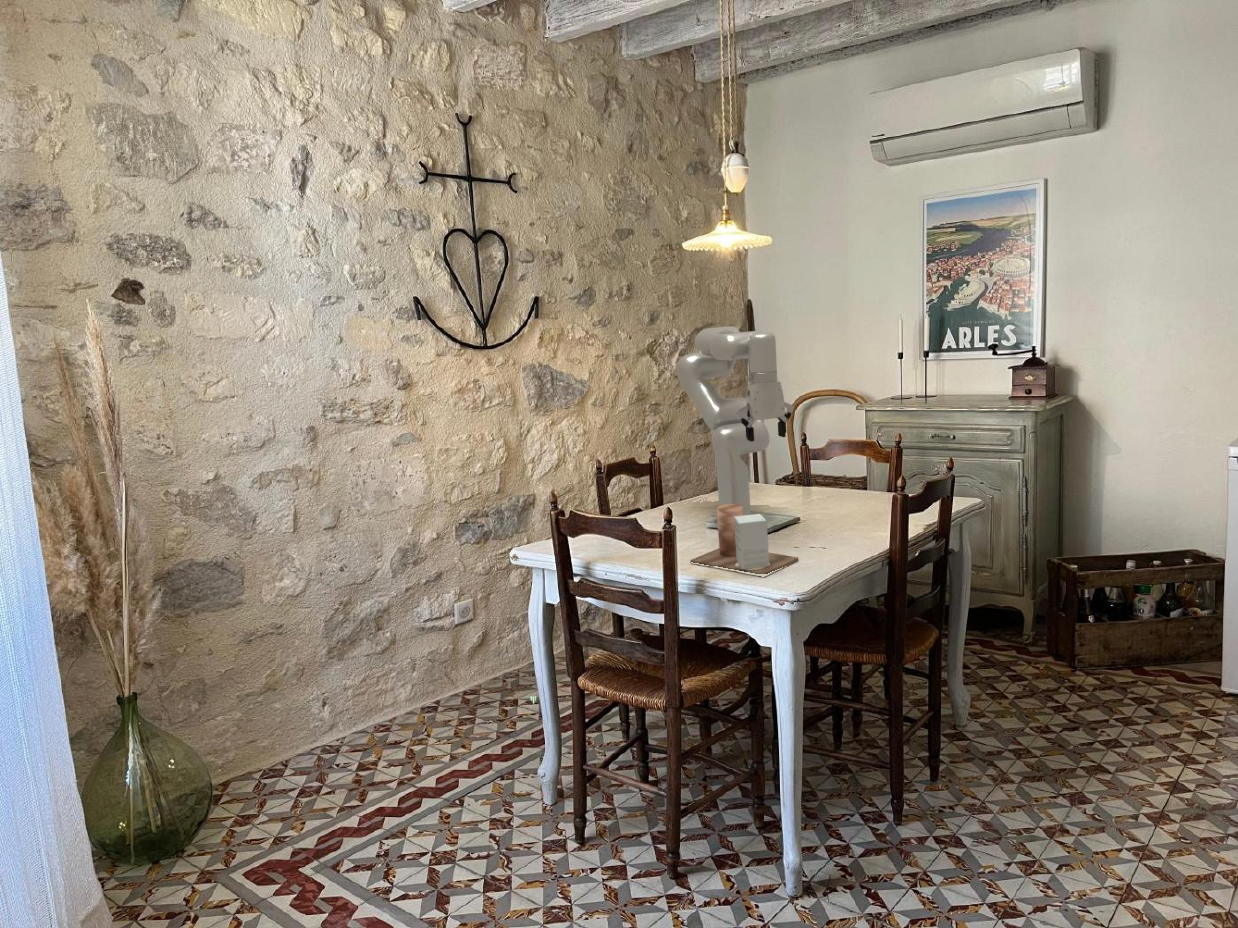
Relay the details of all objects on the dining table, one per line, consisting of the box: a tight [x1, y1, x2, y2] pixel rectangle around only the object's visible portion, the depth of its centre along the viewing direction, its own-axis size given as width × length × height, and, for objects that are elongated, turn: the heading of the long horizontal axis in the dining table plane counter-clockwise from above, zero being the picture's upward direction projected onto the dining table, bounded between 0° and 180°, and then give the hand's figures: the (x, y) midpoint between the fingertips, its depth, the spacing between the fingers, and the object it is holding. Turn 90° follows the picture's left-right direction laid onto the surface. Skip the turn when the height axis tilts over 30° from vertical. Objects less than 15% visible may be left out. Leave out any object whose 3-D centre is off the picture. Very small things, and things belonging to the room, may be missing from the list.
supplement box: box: [734, 513, 770, 569], centre depth 246 cm, size 7×7×13 cm
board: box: [690, 504, 799, 574], centre depth 252 cm, size 24×16×14 cm, turn 47°
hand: (766, 438), depth 263 cm, fingers open, 9 cm apart
